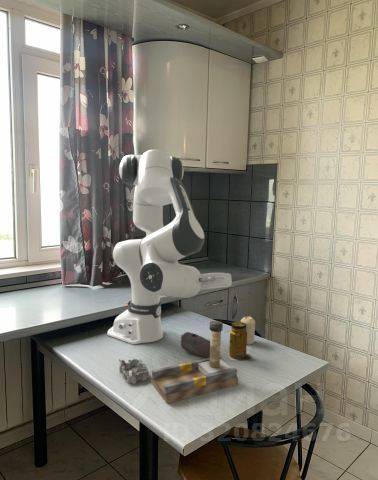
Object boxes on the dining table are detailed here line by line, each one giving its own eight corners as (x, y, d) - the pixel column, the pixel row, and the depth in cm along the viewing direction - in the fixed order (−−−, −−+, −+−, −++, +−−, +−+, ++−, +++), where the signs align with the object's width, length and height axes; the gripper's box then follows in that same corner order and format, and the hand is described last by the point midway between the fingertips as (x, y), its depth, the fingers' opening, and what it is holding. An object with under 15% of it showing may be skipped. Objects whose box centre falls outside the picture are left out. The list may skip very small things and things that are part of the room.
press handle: (208, 379, 113) (210, 329, 110) (197, 369, 119) (199, 321, 117) (231, 374, 117) (233, 325, 114) (219, 364, 123) (221, 317, 120)
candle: (237, 342, 146) (238, 317, 144) (243, 337, 150) (244, 313, 149) (250, 346, 143) (251, 320, 141) (256, 341, 147) (257, 316, 146)
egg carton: (117, 370, 122) (117, 358, 122) (139, 365, 126) (139, 354, 125) (127, 385, 113) (127, 373, 112) (150, 380, 116) (150, 368, 116)
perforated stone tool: (221, 359, 131) (222, 340, 130) (213, 364, 127) (214, 345, 126) (188, 347, 140) (188, 329, 139) (179, 351, 136) (179, 333, 135)
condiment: (226, 351, 137) (227, 320, 136) (249, 351, 138) (250, 320, 136) (230, 361, 130) (232, 328, 128) (254, 360, 131) (256, 328, 129)
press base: (166, 403, 104) (166, 388, 104) (150, 382, 115) (150, 369, 114) (238, 384, 115) (238, 370, 115) (217, 366, 126) (218, 354, 125)
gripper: (217, 265, 100) (240, 270, 111) (156, 274, 110) (182, 277, 122) (219, 289, 98) (241, 291, 110) (157, 295, 109) (183, 297, 120)
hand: (210, 284), depth 116 cm, fingers open, 8 cm apart
